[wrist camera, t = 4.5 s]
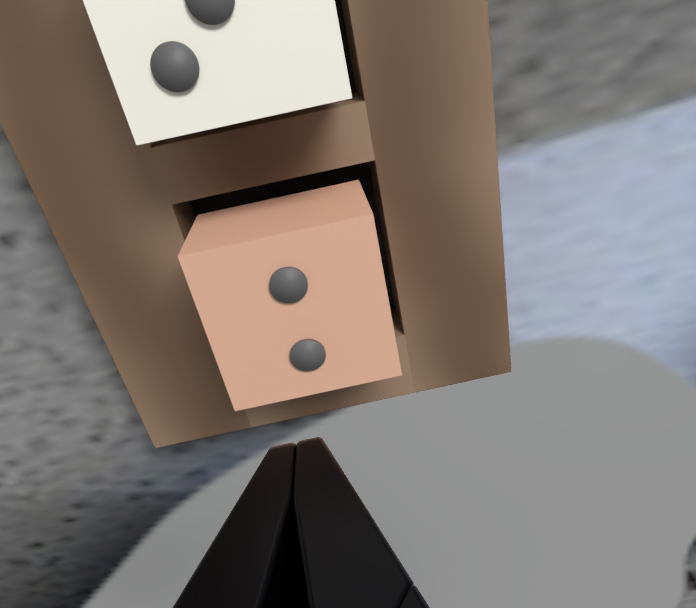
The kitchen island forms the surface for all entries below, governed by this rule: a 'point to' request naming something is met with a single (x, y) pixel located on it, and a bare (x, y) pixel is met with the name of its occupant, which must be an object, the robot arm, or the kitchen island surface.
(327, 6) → the button cream
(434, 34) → the button board
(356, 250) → the salmon pink square block
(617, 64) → the kitchen island surface
